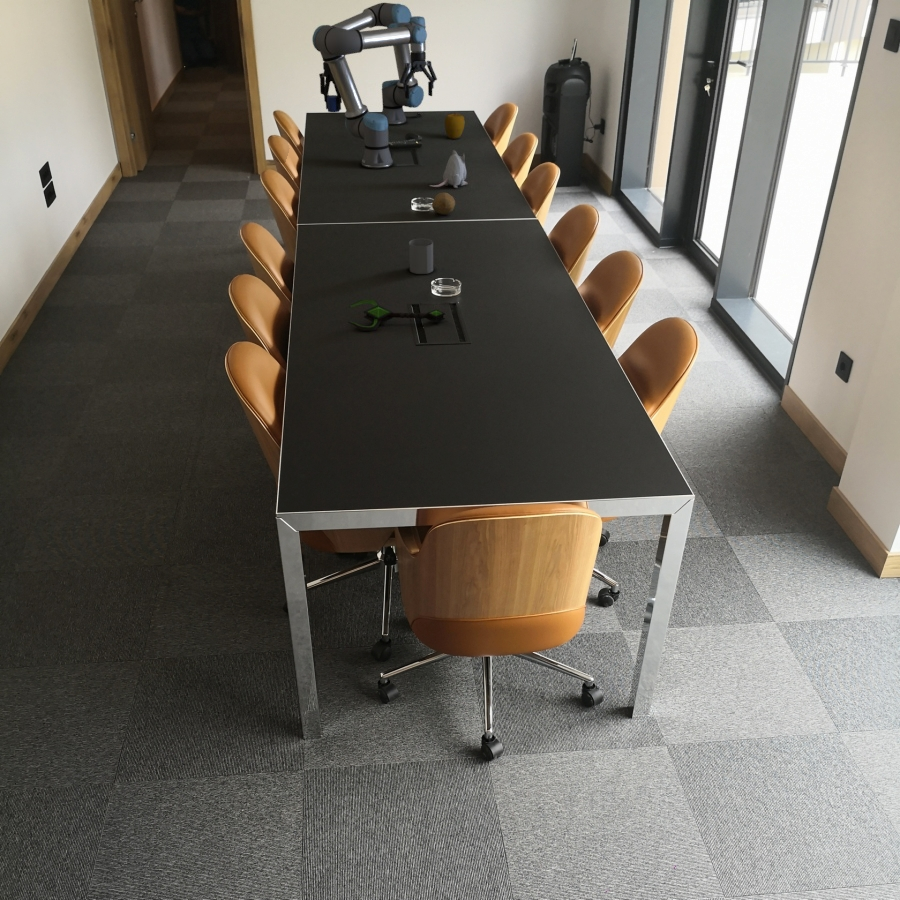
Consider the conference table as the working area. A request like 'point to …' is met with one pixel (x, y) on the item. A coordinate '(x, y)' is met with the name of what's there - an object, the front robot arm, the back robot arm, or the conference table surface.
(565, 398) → the conference table surface
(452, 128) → the yellow bell pepper
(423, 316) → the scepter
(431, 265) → the cup
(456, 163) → the toy
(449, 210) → the potato
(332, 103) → the can
